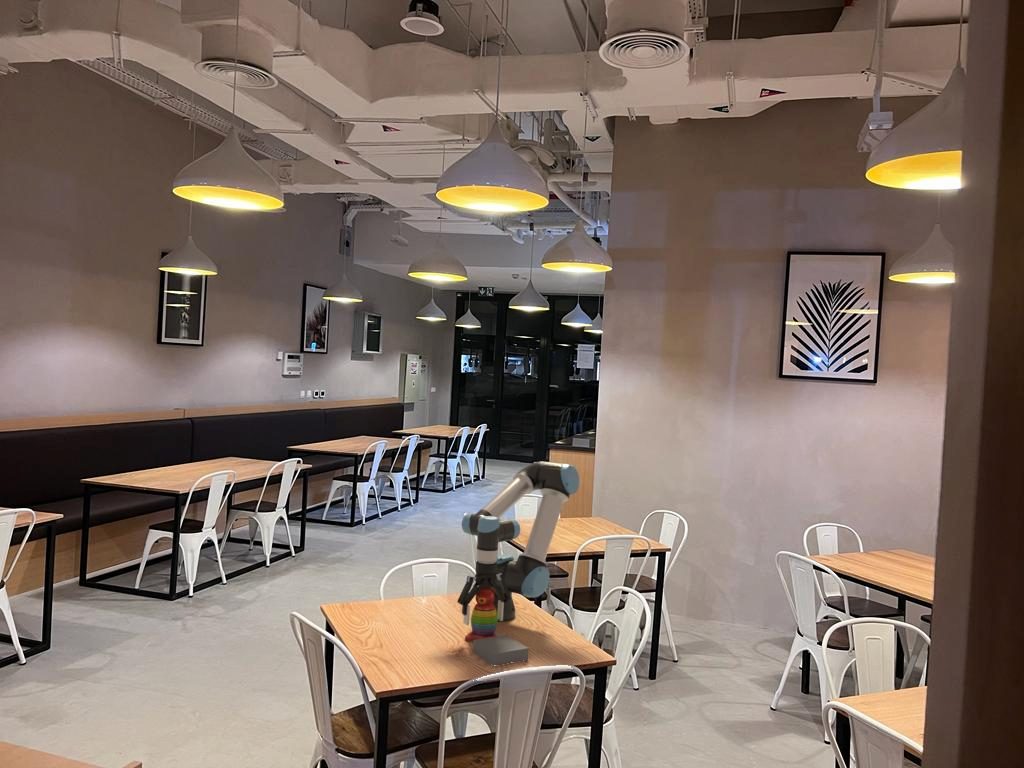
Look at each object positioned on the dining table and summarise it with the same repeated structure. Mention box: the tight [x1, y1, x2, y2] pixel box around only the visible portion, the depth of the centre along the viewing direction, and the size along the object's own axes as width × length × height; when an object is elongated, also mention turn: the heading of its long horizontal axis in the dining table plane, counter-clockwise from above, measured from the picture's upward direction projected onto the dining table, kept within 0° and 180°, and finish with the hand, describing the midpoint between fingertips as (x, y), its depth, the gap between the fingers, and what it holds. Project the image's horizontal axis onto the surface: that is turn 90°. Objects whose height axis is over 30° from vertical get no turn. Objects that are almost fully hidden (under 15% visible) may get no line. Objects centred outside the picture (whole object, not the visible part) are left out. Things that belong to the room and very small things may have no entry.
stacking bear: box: [464, 588, 499, 643], centre depth 254 cm, size 11×10×18 cm
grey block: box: [472, 634, 530, 667], centre depth 237 cm, size 13×14×4 cm
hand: (483, 622), depth 253 cm, fingers open, 13 cm apart
